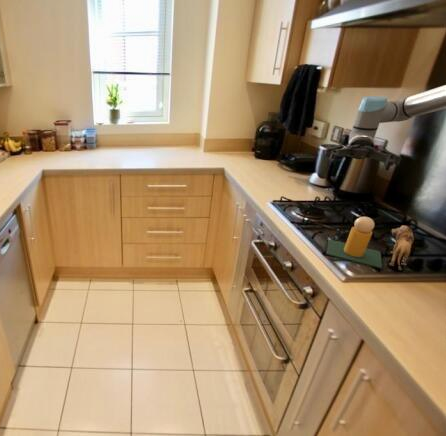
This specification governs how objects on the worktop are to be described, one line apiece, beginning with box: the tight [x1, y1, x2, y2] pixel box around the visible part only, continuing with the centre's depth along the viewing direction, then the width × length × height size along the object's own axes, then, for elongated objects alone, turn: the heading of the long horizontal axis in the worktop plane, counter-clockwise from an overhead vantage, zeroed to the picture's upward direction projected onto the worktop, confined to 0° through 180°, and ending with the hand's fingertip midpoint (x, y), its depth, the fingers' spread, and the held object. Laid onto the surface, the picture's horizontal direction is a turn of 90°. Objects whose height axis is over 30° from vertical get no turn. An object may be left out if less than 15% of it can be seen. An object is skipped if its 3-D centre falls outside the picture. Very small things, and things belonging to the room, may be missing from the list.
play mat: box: [325, 239, 383, 270], centre depth 99 cm, size 14×10×1 cm
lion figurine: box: [388, 225, 415, 271], centre depth 95 cm, size 15×5×9 cm, turn 149°
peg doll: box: [344, 216, 376, 257], centre depth 96 cm, size 5×5×12 cm
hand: (361, 162), depth 98 cm, fingers open, 13 cm apart
